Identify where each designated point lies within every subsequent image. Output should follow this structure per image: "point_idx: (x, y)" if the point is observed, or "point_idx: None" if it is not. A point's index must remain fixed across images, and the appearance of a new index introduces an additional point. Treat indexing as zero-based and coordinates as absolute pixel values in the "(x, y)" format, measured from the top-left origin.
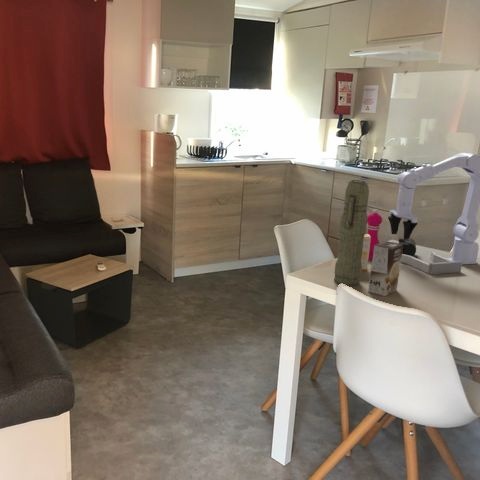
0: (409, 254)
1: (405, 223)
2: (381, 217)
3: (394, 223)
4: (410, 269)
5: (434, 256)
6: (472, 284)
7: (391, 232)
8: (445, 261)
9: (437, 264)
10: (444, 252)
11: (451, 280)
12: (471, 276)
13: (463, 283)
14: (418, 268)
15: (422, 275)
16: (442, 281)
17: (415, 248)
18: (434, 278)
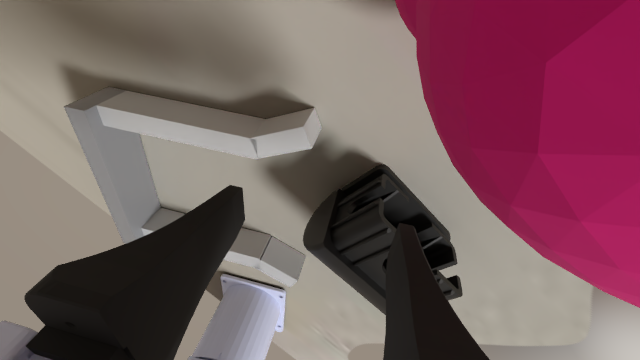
0: (329, 203)
1: (64, 279)
2: (489, 190)
3: (400, 329)
4: (181, 51)
5: (257, 252)
6: (19, 138)
7: (416, 233)
8: None
9: (79, 134)
10: (352, 339)
11: (45, 105)
12: None
13: (20, 118)
14: (188, 103)
15: (88, 30)
16: (18, 53)
17: (303, 239)
18: (53, 53)
